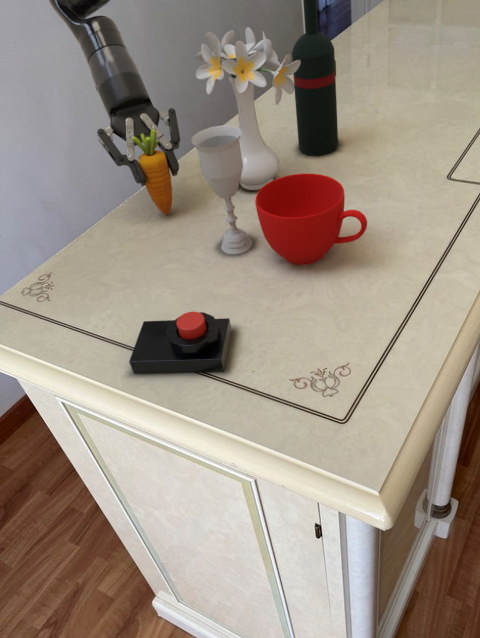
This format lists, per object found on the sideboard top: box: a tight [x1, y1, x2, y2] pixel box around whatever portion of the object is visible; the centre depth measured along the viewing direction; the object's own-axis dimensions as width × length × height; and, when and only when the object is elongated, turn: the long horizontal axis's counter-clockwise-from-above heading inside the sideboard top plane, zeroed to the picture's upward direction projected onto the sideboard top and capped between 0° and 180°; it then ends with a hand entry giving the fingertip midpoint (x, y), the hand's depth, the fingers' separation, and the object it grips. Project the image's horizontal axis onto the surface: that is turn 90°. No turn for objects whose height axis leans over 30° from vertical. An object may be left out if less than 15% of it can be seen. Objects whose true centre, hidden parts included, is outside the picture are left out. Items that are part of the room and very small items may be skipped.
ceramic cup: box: [254, 173, 368, 266], centre depth 87 cm, size 13×17×10 cm
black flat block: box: [128, 311, 233, 374], centre depth 77 cm, size 12×8×4 cm, turn 86°
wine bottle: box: [291, 0, 339, 157], centre depth 108 cm, size 8×10×30 cm
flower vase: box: [195, 26, 301, 191], centre depth 101 cm, size 13×18×25 cm
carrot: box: [132, 129, 173, 216], centre depth 99 cm, size 5×5×15 cm
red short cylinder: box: [176, 311, 207, 340], centre depth 75 cm, size 4×4×2 cm
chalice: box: [191, 124, 253, 255], centre depth 89 cm, size 7×7×18 cm
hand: (159, 178), depth 98 cm, fingers closed on carrot, 5 cm apart
